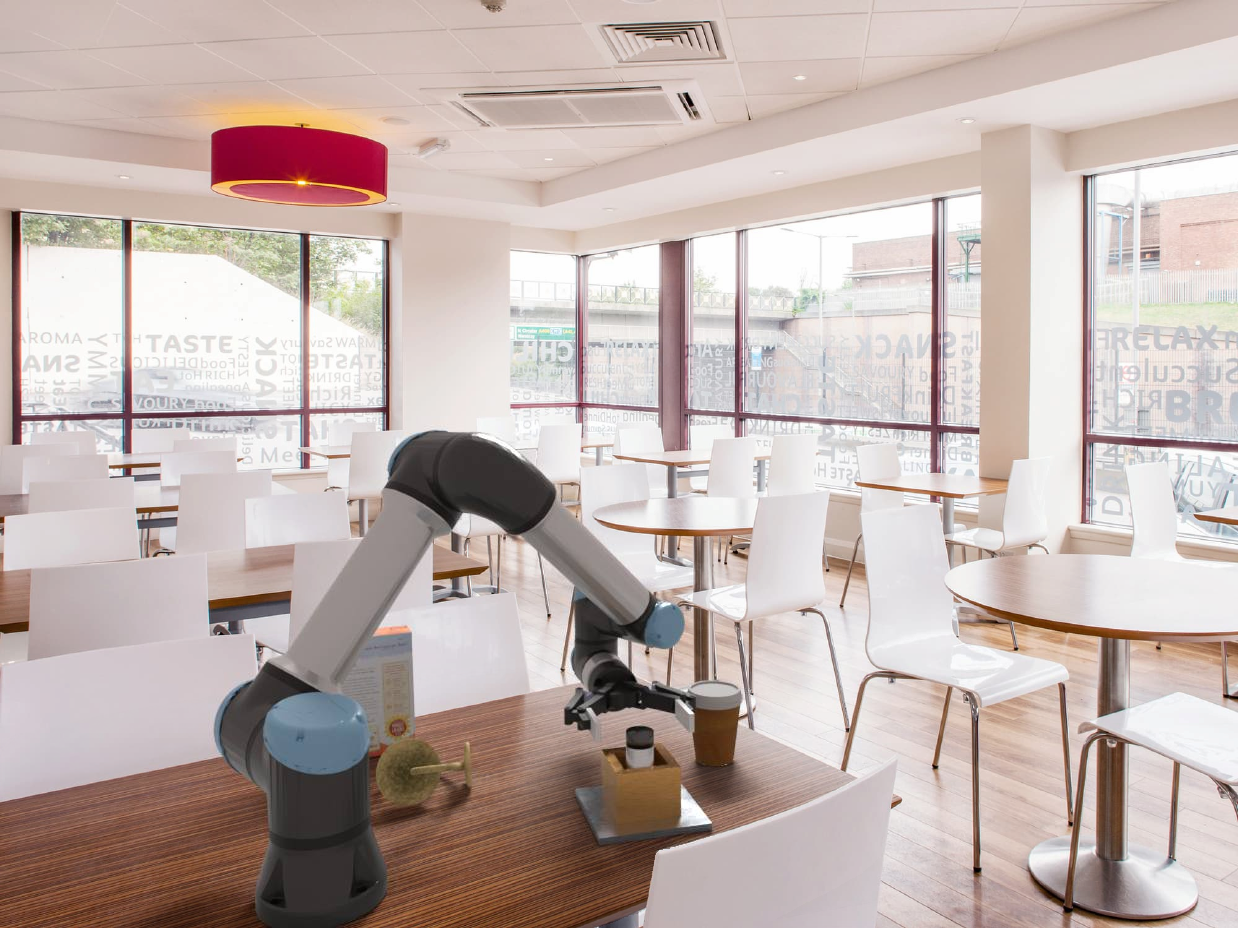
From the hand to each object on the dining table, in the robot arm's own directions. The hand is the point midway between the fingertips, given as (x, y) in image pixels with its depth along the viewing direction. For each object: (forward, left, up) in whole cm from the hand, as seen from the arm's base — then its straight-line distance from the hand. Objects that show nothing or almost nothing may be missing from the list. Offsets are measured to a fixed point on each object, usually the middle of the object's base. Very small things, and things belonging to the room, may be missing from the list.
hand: (645, 728), depth 125 cm
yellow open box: (0, +3, -14) cm, 14 cm away
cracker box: (-38, +37, -14) cm, 55 cm away
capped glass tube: (0, +3, -14) cm, 14 cm away
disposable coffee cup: (+17, +18, -14) cm, 28 cm away
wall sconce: (-29, +26, -13) cm, 41 cm away
